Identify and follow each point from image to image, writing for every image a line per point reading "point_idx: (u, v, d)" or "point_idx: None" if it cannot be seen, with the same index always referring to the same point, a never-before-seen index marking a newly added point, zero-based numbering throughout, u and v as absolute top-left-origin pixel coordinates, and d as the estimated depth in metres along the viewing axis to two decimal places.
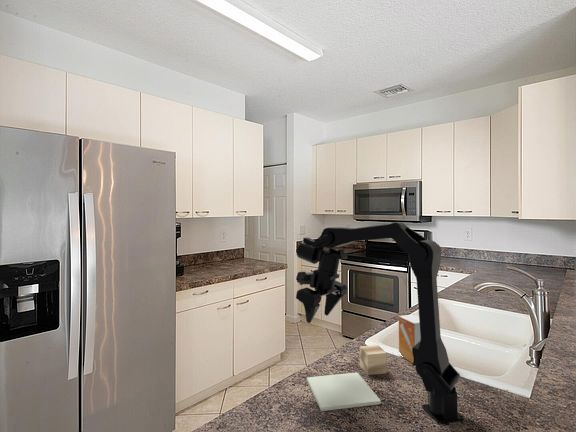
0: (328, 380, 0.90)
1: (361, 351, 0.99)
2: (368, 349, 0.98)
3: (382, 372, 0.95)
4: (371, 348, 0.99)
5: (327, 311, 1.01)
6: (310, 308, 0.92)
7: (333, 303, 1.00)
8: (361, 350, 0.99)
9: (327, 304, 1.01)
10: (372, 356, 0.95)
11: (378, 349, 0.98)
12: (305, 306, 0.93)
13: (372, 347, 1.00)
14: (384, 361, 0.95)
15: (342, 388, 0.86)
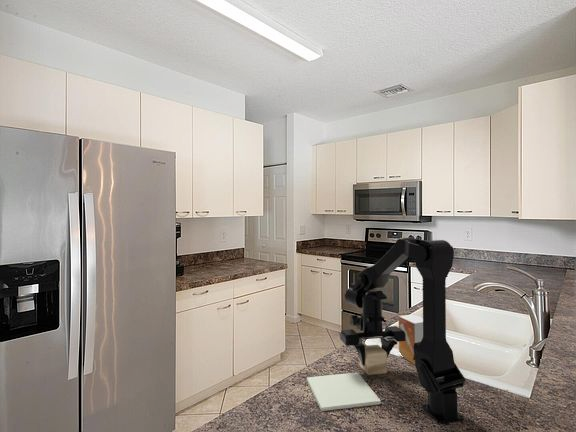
0: (328, 380, 0.90)
1: None
2: (368, 349, 0.98)
3: (382, 372, 0.95)
4: (371, 348, 0.99)
5: None
6: None
7: (386, 350, 0.97)
8: None
9: None
10: (372, 356, 0.95)
11: (378, 348, 0.98)
12: (356, 347, 0.98)
13: (372, 347, 1.00)
14: (384, 361, 0.95)
15: (342, 388, 0.86)
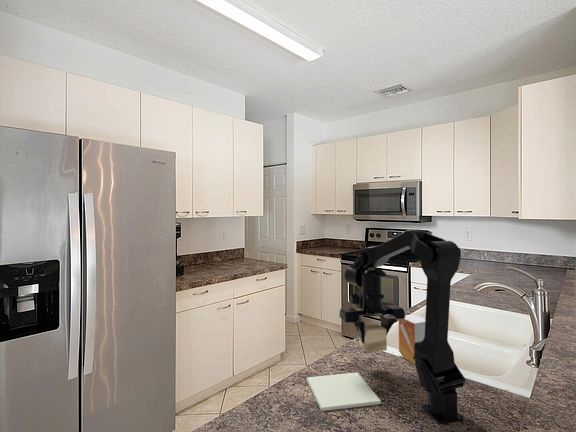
0: (328, 380, 0.90)
1: None
2: (367, 327, 0.98)
3: (381, 349, 0.95)
4: (370, 326, 0.99)
5: None
6: (359, 327, 0.97)
7: (385, 328, 0.97)
8: None
9: None
10: (372, 333, 0.95)
11: (377, 326, 0.98)
12: (355, 325, 0.98)
13: (371, 325, 1.00)
14: (383, 338, 0.96)
15: (342, 388, 0.86)
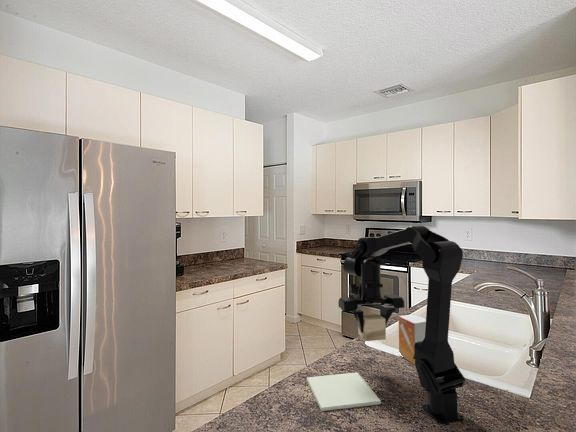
0: (328, 380, 0.90)
1: None
2: (366, 316, 0.98)
3: (381, 338, 0.95)
4: (370, 315, 0.98)
5: None
6: (358, 316, 0.96)
7: (384, 317, 0.97)
8: None
9: None
10: (371, 322, 0.94)
11: (376, 316, 0.98)
12: (354, 315, 0.98)
13: (371, 314, 0.99)
14: (382, 327, 0.95)
15: (342, 388, 0.86)
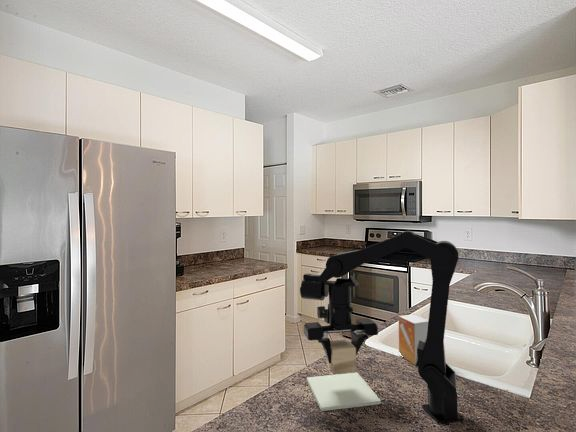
0: (328, 380, 0.90)
1: None
2: (335, 344, 0.86)
3: (350, 370, 0.83)
4: (339, 343, 0.87)
5: None
6: None
7: (355, 346, 0.85)
8: None
9: None
10: (339, 352, 0.83)
11: (346, 343, 0.86)
12: (322, 342, 0.86)
13: (340, 342, 0.87)
14: (352, 357, 0.83)
15: (342, 388, 0.86)
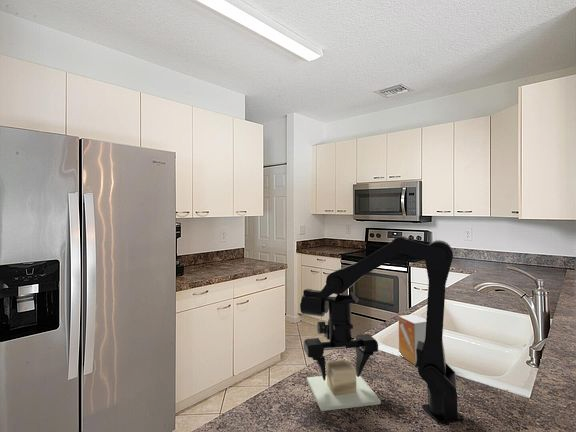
0: None
1: (328, 367, 0.87)
2: (335, 365, 0.86)
3: (350, 391, 0.83)
4: (339, 364, 0.86)
5: (357, 371, 0.86)
6: None
7: (360, 362, 0.85)
8: (328, 366, 0.87)
9: (357, 362, 0.87)
10: (339, 374, 0.83)
11: (347, 364, 0.86)
12: (316, 359, 0.86)
13: (341, 362, 0.87)
14: (353, 379, 0.83)
15: None
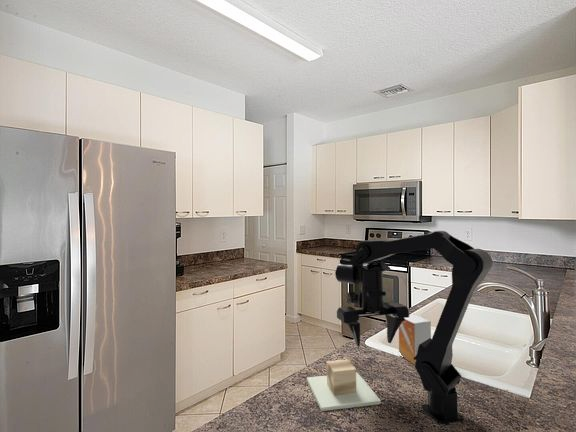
0: None
1: (328, 367, 0.87)
2: (335, 365, 0.86)
3: (350, 391, 0.83)
4: (339, 364, 0.86)
5: (389, 338, 0.89)
6: (354, 328, 0.87)
7: (392, 328, 0.88)
8: (328, 366, 0.87)
9: (389, 329, 0.90)
10: (339, 374, 0.83)
11: (347, 364, 0.86)
12: (350, 327, 0.88)
13: (341, 362, 0.87)
14: (353, 379, 0.83)
15: None
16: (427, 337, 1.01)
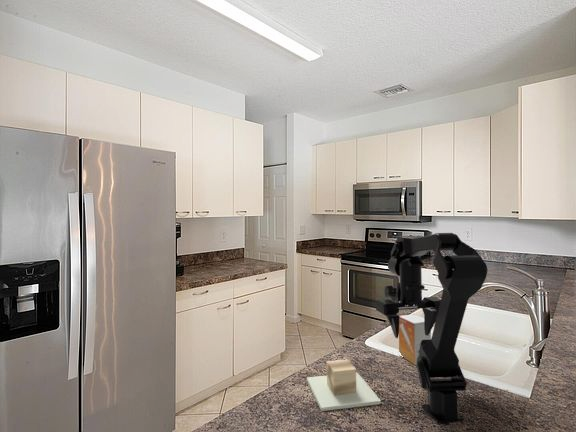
0: None
1: (328, 367, 0.87)
2: (335, 365, 0.86)
3: (350, 391, 0.83)
4: (339, 364, 0.86)
5: (426, 330, 0.92)
6: (393, 320, 0.90)
7: (430, 321, 0.91)
8: (328, 366, 0.87)
9: (426, 322, 0.93)
10: (339, 374, 0.83)
11: (347, 364, 0.86)
12: (388, 319, 0.91)
13: (341, 362, 0.87)
14: (353, 379, 0.83)
15: None
16: (427, 337, 1.01)
